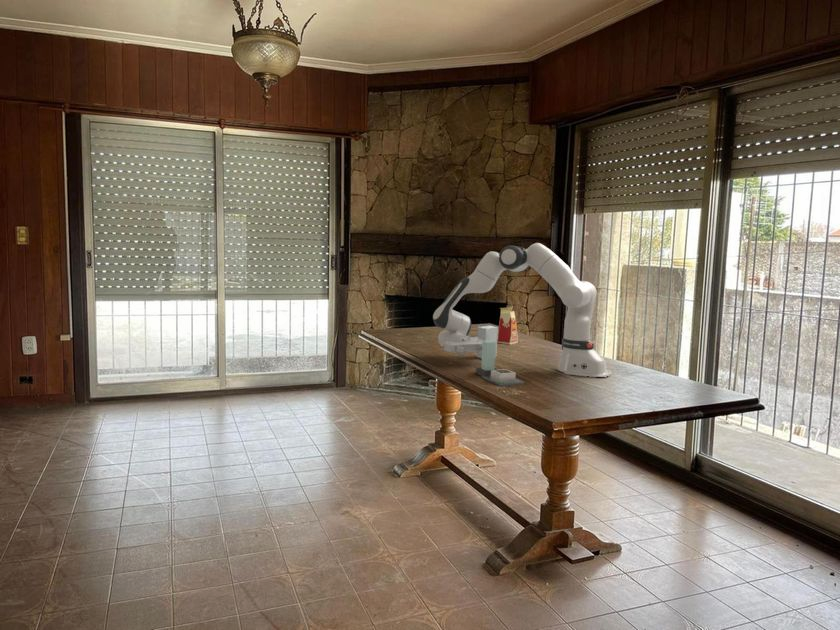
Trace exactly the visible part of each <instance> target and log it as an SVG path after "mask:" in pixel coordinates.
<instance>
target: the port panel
mask: <svg viewBox="0 0 840 630" xmlns="http://www.w3.org/2000/svg"><path fill="white" fill-rule="evenodd" d="M516 375H517V374H516V372H515V371H512V370H510V369H507V368H503V369H502V368H501V369H498V370H491V375H486V376H481V378H482V379H483V380H486V381H487V382H489V383H491V384H495V385H497V386H499V387H505V386H506V387H507V386H508V387H510V386H519V385H525V381H524V380H521V379H518V378H516Z"/></svg>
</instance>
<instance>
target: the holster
mask: <svg viewBox="0 0 840 630" xmlns="http://www.w3.org/2000/svg"><path fill="white" fill-rule="evenodd" d="M494 370H499V369H498V368H496V367H495V369H494ZM475 374H477V375H479V376H481V377H482V376H486V375H491V370H486V371H485V370H483V369H481V366H480V367H479V366H478V367H476V368H475Z"/></svg>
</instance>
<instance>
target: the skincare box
mask: <svg viewBox="0 0 840 630" xmlns="http://www.w3.org/2000/svg"><path fill="white" fill-rule="evenodd" d="M498 331H499V326H493V325H489V324H488V325H482V326H477V332H476V333H477V336H476V337H478V339H481V340H484V341H494V342H496V349H495V358H497V356H498V355H497V352H498V351H497V350H498V343H497V342H498ZM476 358H479V359H481V360H482V351H476Z"/></svg>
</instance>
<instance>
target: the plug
mask: <svg viewBox="0 0 840 630" xmlns="http://www.w3.org/2000/svg"><path fill="white" fill-rule="evenodd" d="M495 349H496V342H494V341H483V342H482V359H481V364H480V365H481V366H480V367H481V369H483V370H485V371H486V370H494V369H495V368H496V366H495V365H496V357H495Z"/></svg>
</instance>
